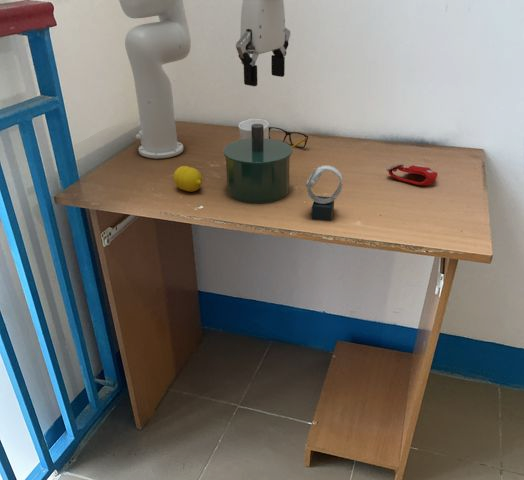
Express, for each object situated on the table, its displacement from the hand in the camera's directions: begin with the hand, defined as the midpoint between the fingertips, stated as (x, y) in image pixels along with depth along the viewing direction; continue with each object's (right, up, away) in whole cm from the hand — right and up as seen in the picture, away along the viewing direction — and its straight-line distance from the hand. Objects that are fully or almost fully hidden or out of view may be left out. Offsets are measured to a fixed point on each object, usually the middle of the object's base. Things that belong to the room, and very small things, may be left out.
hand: (264, 80), depth 122 cm
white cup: (-2, -8, +30) cm, 31 cm away
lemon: (-19, -19, +16) cm, 31 cm away
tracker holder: (+38, -15, +21) cm, 46 cm away
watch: (+13, -28, +5) cm, 32 cm away
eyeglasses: (+3, -3, +37) cm, 37 cm away
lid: (-2, -12, +10) cm, 16 cm away
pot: (-2, -19, +16) cm, 25 cm away
